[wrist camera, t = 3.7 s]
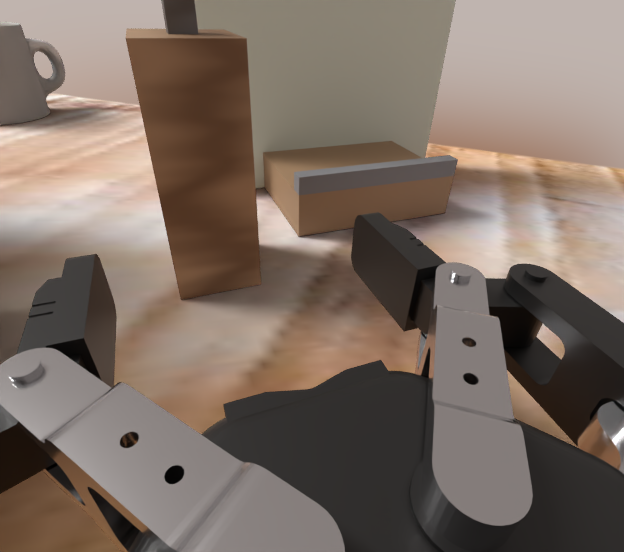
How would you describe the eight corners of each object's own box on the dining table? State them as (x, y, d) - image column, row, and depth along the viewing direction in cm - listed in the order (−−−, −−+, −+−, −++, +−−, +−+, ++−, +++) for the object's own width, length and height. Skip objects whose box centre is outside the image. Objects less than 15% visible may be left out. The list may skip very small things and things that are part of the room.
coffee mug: (-42, 130, 45) (-91, 27, 39) (-43, 112, 51) (-85, 21, 46) (85, 116, 52) (59, 26, 46) (71, 101, 58) (46, 21, 52)
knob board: (181, 299, 21) (114, -14, 13) (173, 252, 25) (118, -13, 17) (261, 284, 22) (243, -9, 15) (242, 242, 26) (220, -9, 18)
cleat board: (240, 245, 26) (197, -233, 14) (214, 186, 34) (173, -151, 22) (486, 206, 32) (595, -151, 20) (414, 163, 40) (463, -111, 28)
